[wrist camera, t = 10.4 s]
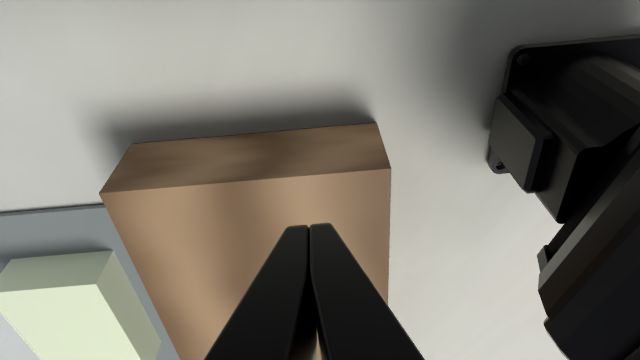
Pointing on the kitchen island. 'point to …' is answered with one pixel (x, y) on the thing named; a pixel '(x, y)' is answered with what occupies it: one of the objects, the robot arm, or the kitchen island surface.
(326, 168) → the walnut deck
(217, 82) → the kitchen island surface
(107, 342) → the sage tile
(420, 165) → the kitchen island surface
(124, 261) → the slate mat
